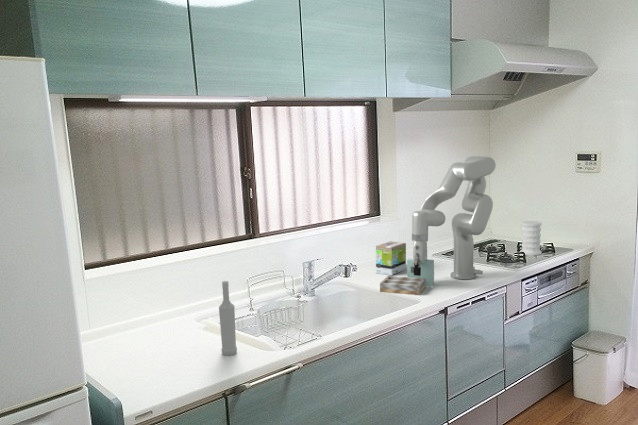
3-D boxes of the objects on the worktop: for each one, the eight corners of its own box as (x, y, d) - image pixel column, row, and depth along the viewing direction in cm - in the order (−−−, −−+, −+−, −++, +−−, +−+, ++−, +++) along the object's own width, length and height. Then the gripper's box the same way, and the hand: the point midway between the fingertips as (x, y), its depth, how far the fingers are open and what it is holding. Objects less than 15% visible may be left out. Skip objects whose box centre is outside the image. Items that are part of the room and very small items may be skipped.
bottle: (237, 355, 186) (233, 283, 182) (222, 357, 185) (217, 284, 181) (236, 349, 191) (232, 279, 187) (221, 351, 190) (217, 280, 186)
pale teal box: (434, 284, 262) (433, 259, 260) (432, 286, 259) (432, 261, 257) (409, 282, 267) (408, 258, 265) (407, 284, 263) (407, 260, 262)
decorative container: (543, 251, 321) (543, 221, 319) (539, 256, 312) (540, 224, 309) (522, 250, 327) (522, 220, 325) (518, 254, 317) (519, 223, 315)
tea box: (392, 276, 280) (391, 247, 278) (375, 273, 286) (374, 245, 284) (406, 269, 292) (406, 242, 289) (390, 267, 298) (389, 240, 296)
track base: (425, 286, 259) (425, 278, 258) (418, 295, 246) (418, 286, 245) (388, 283, 266) (388, 275, 265) (380, 291, 253) (379, 283, 252)
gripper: (423, 241, 250) (423, 278, 252) (431, 235, 266) (431, 269, 268) (407, 240, 253) (407, 276, 255) (416, 234, 269) (415, 268, 271)
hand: (419, 273), depth 262 cm, fingers open, 9 cm apart
